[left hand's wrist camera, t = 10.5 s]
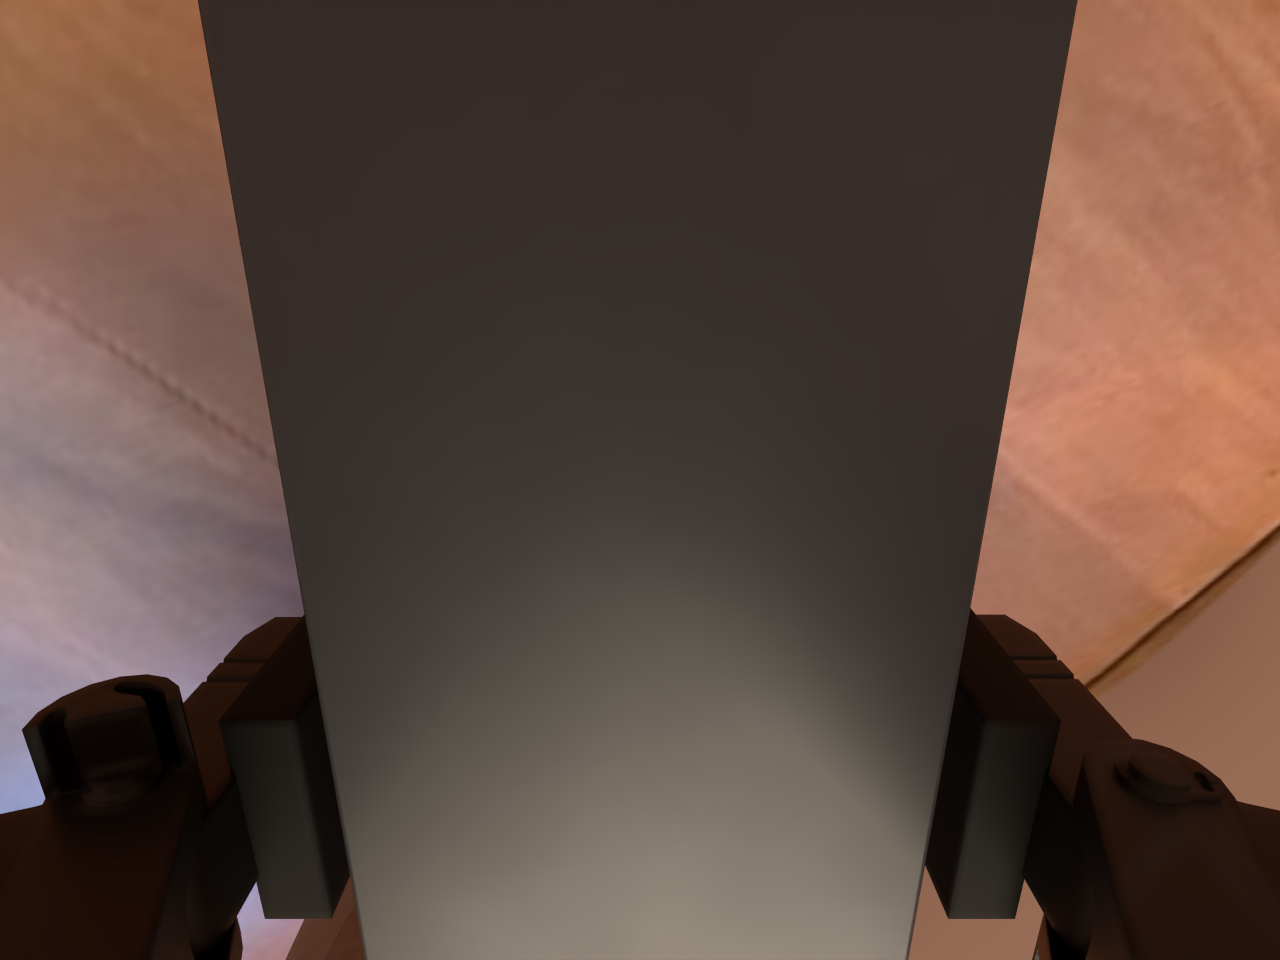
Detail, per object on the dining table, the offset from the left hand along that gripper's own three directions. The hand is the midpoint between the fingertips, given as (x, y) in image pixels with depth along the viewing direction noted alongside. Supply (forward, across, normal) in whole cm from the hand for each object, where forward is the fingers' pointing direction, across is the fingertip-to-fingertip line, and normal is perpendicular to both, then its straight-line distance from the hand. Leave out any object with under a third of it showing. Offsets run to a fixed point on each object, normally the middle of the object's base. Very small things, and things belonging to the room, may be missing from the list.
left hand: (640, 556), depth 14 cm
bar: (+1, 0, -8) cm, 8 cm away
